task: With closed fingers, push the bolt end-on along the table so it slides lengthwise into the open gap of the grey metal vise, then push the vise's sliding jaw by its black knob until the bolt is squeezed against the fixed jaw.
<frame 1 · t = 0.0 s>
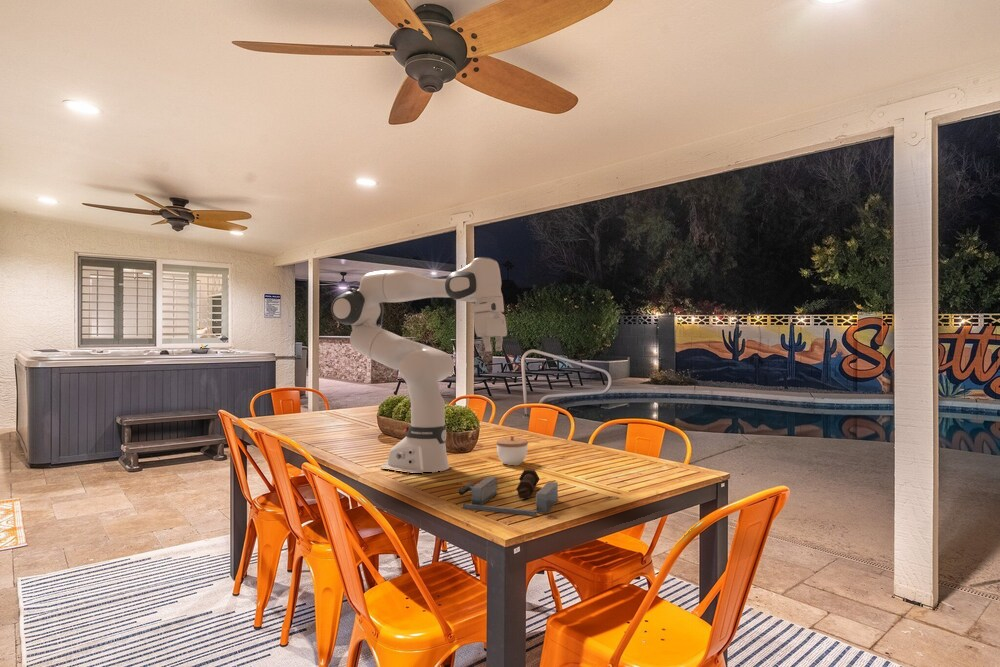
hand: (494, 351, 178), 39 cm above the table, tool pointing down, fingers open, 8 cm apart
lidded jar: (512, 464, 192), on the table
vise: (515, 503, 146), on the table
bolt: (526, 494, 155), on the table
jaw: (476, 489, 149), point 2 cm above the table, slide at 0.0 cm
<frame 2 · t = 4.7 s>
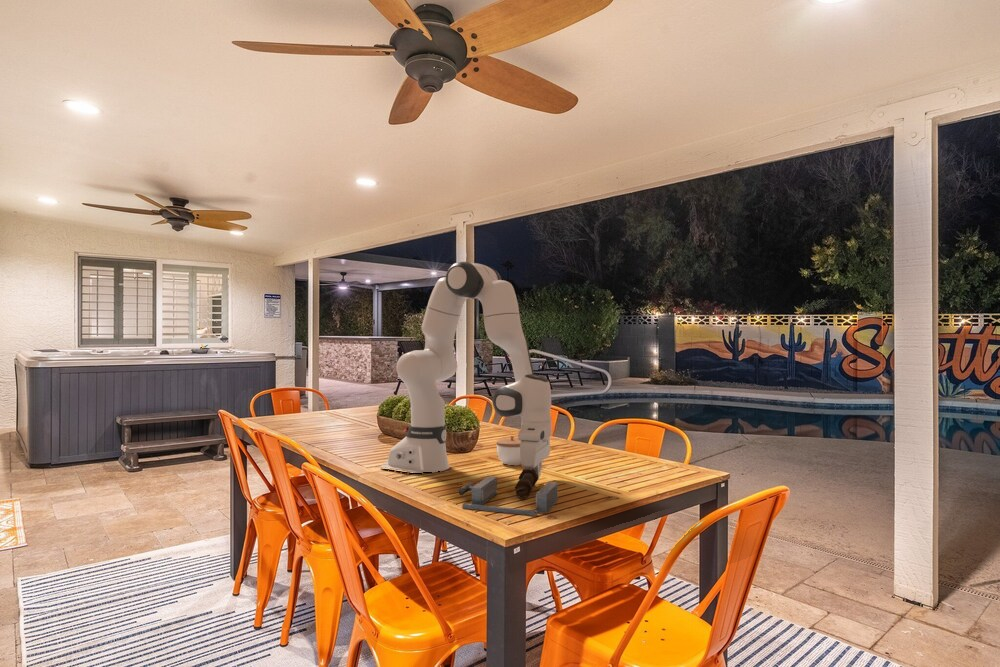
hand: (536, 477, 165), 2 cm above the table, tool pointing down, fingers closed
bolt: (524, 493, 156), on the table, touching gripper
everything else where it was.
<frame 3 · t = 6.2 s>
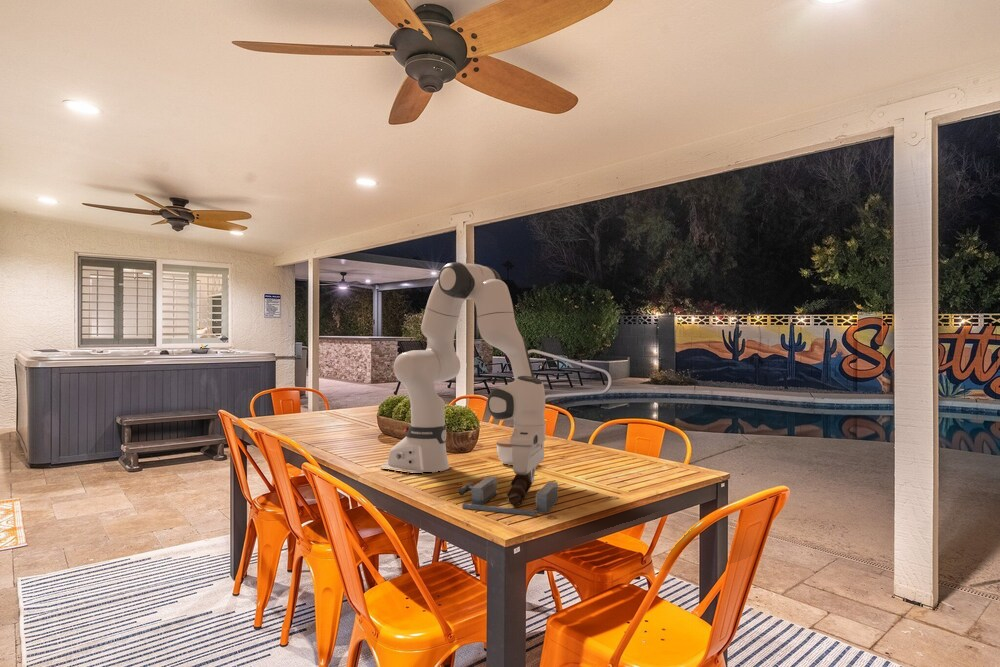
hand: (529, 483, 158), 2 cm above the table, tool pointing down, fingers closed
bolt: (517, 500, 149), on the table, touching gripper
everything else where it was.
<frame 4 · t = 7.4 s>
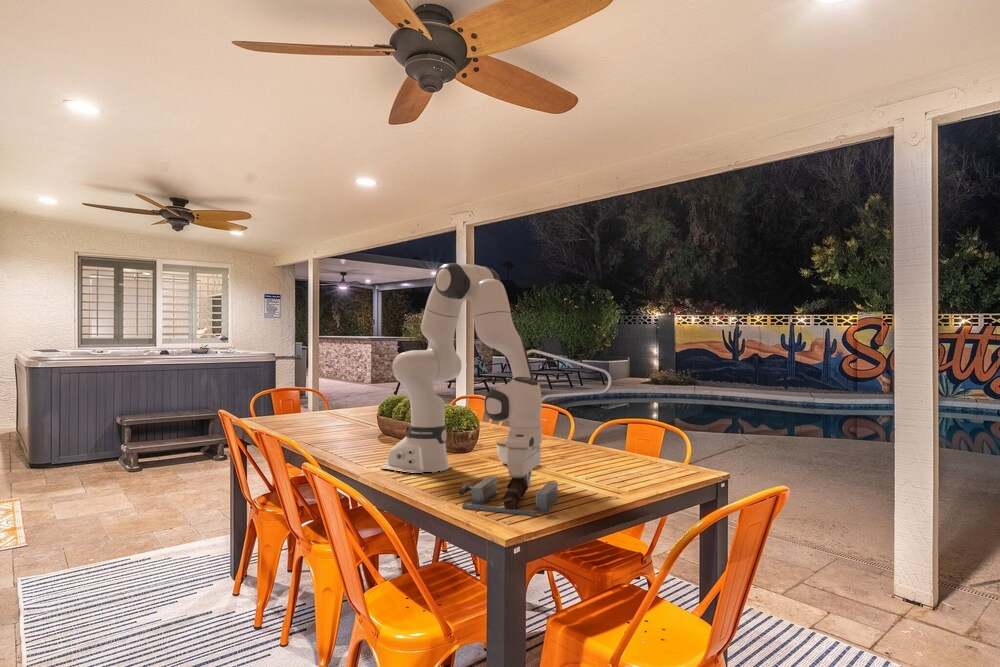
hand: (525, 486, 155), 2 cm above the table, tool pointing down, fingers closed
bolt: (513, 504, 146), on the table, touching gripper, vise
everything else where it was.
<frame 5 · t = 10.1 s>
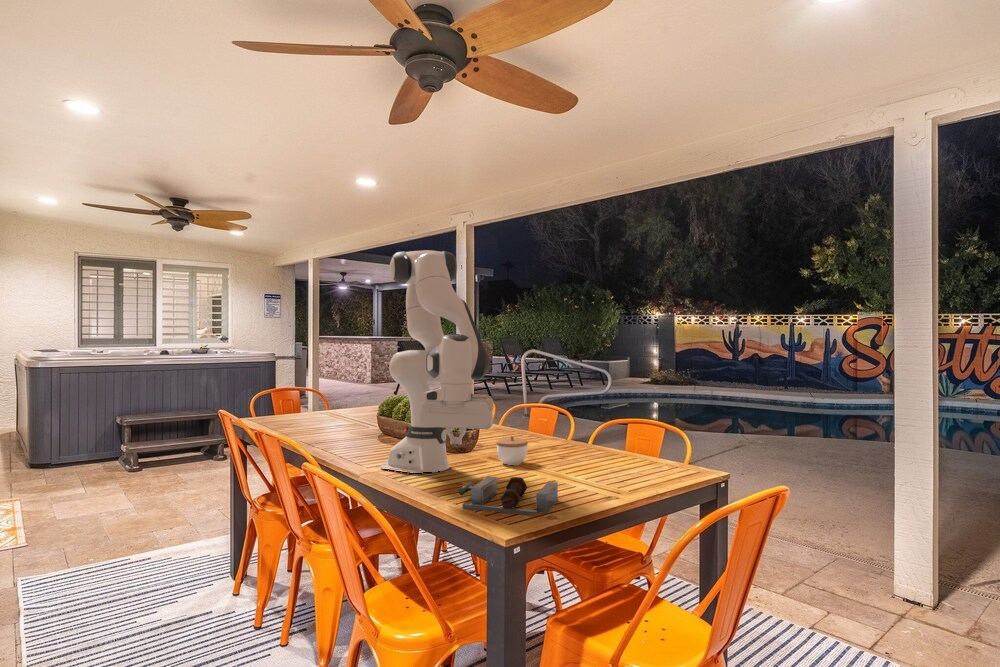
hand: (456, 444, 153), 14 cm above the table, tool pointing down, fingers closed
bolt: (512, 504, 146), on the table
everything else where it was.
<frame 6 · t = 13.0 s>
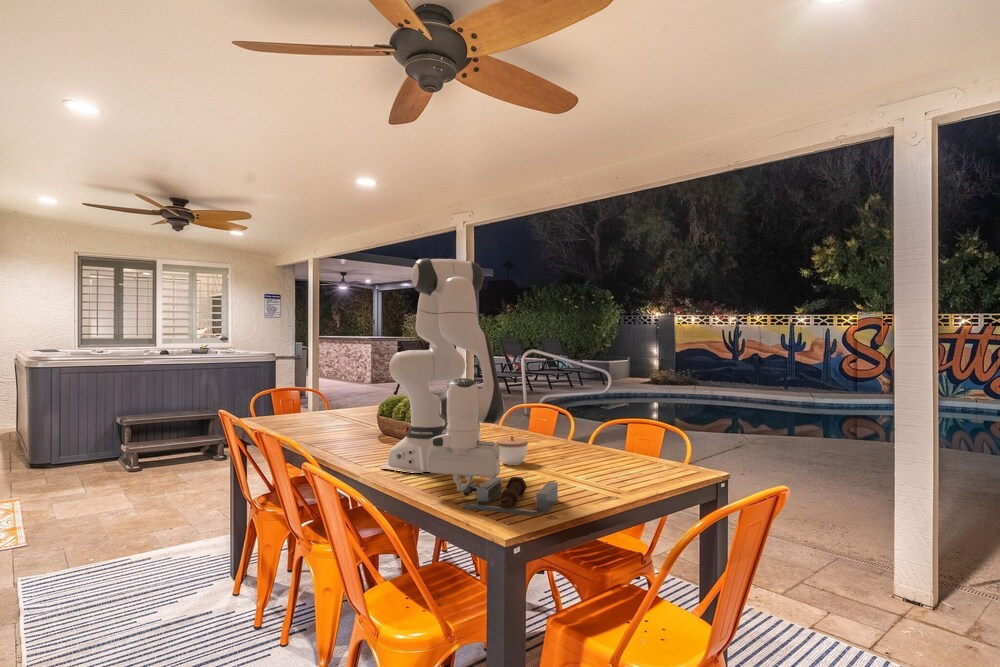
hand: (463, 491, 151), 2 cm above the table, tool pointing down, fingers closed
jaw: (481, 490, 149), point 2 cm above the table, slide at 1.4 cm, touching gripper
everything else where it was.
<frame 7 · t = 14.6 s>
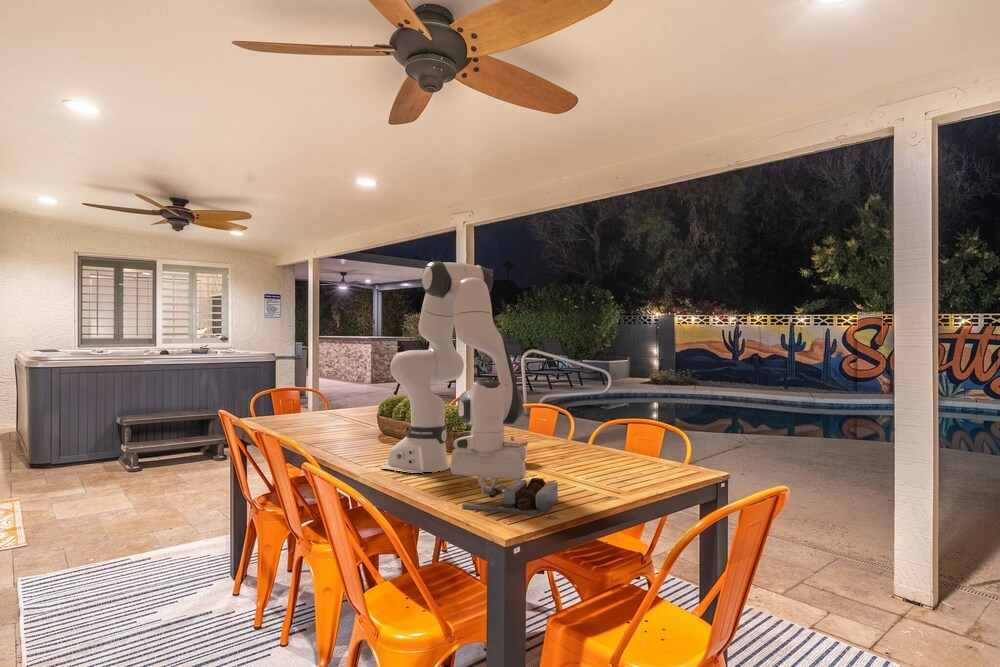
hand: (487, 493, 148), 2 cm above the table, tool pointing down, fingers closed
bolt: (530, 505, 146), on the table
jaw: (506, 492, 147), point 2 cm above the table, slide at 8.5 cm, touching gripper
everything else where it was.
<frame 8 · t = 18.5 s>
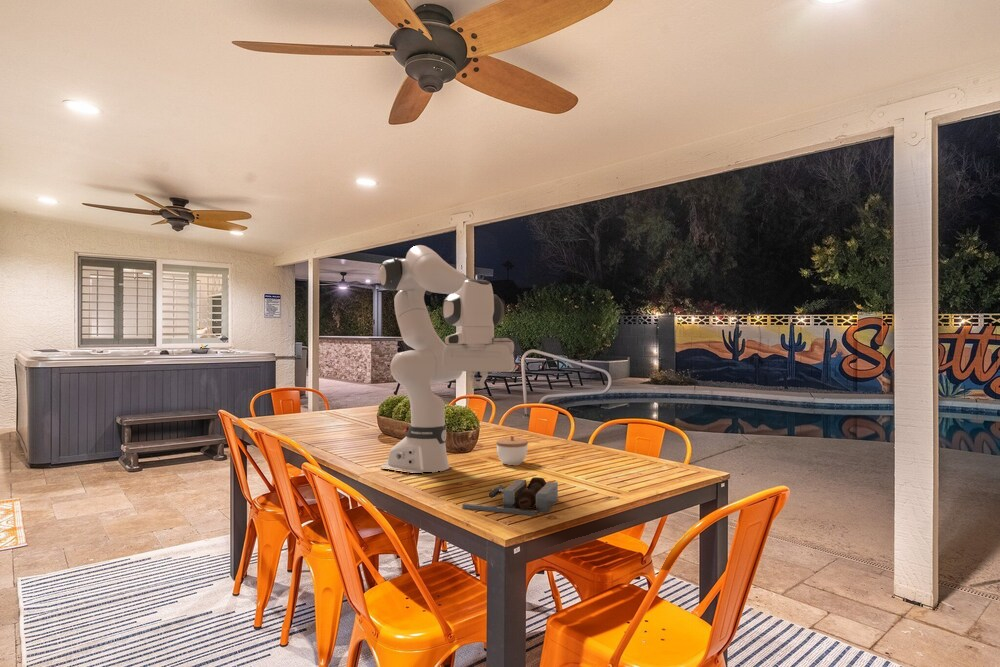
hand: (477, 388, 154), 29 cm above the table, tool pointing down, fingers closed
jaw: (506, 492, 147), point 2 cm above the table, slide at 8.4 cm
everything else where it was.
at the end: bolt moved 9.2 cm from its start; bolt inside the target area on the vise (1.7 cm from its centre), point -0.5 cm above the vise's base; jaw slide at 8.4 cm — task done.
